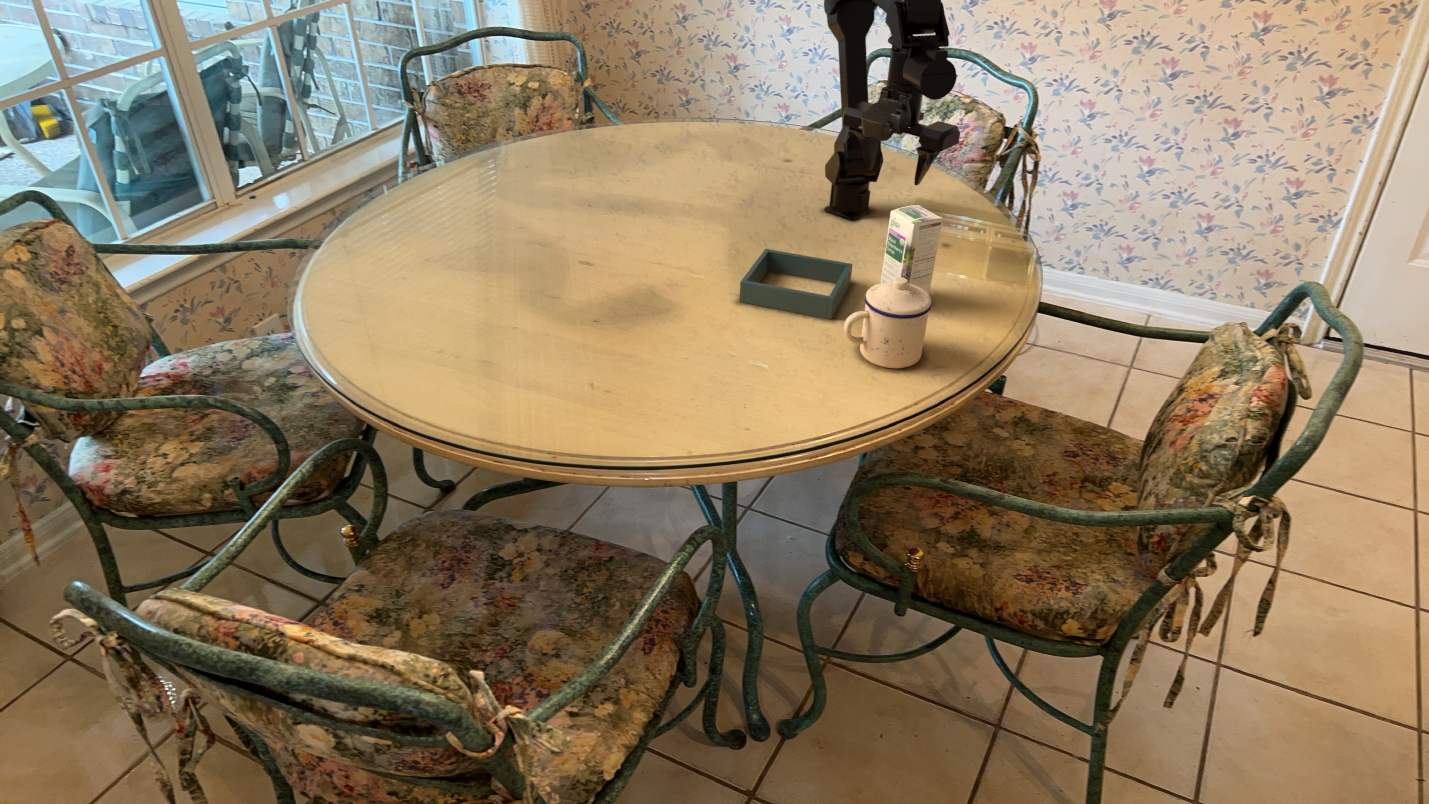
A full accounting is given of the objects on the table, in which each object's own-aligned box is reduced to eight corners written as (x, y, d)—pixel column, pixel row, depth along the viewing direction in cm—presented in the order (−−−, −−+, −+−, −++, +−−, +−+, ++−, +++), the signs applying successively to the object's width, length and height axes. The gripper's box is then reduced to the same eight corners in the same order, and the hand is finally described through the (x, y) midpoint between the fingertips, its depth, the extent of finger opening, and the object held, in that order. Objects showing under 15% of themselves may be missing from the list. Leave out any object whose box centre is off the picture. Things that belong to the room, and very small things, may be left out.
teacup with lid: (906, 333, 133) (917, 261, 126) (933, 366, 126) (947, 292, 119) (829, 343, 130) (837, 270, 124) (853, 377, 123) (862, 302, 116)
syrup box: (876, 296, 142) (888, 209, 134) (906, 287, 145) (919, 202, 136) (899, 311, 138) (913, 223, 130) (929, 303, 141) (944, 216, 132)
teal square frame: (764, 267, 150) (765, 248, 148) (850, 283, 146) (852, 263, 143) (739, 301, 140) (740, 281, 138) (830, 319, 136) (833, 299, 134)
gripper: (826, 78, 140) (818, 175, 149) (930, 105, 130) (915, 207, 139) (867, 65, 146) (857, 158, 155) (969, 89, 136) (952, 187, 145)
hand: (892, 177), depth 149 cm, fingers open, 9 cm apart
